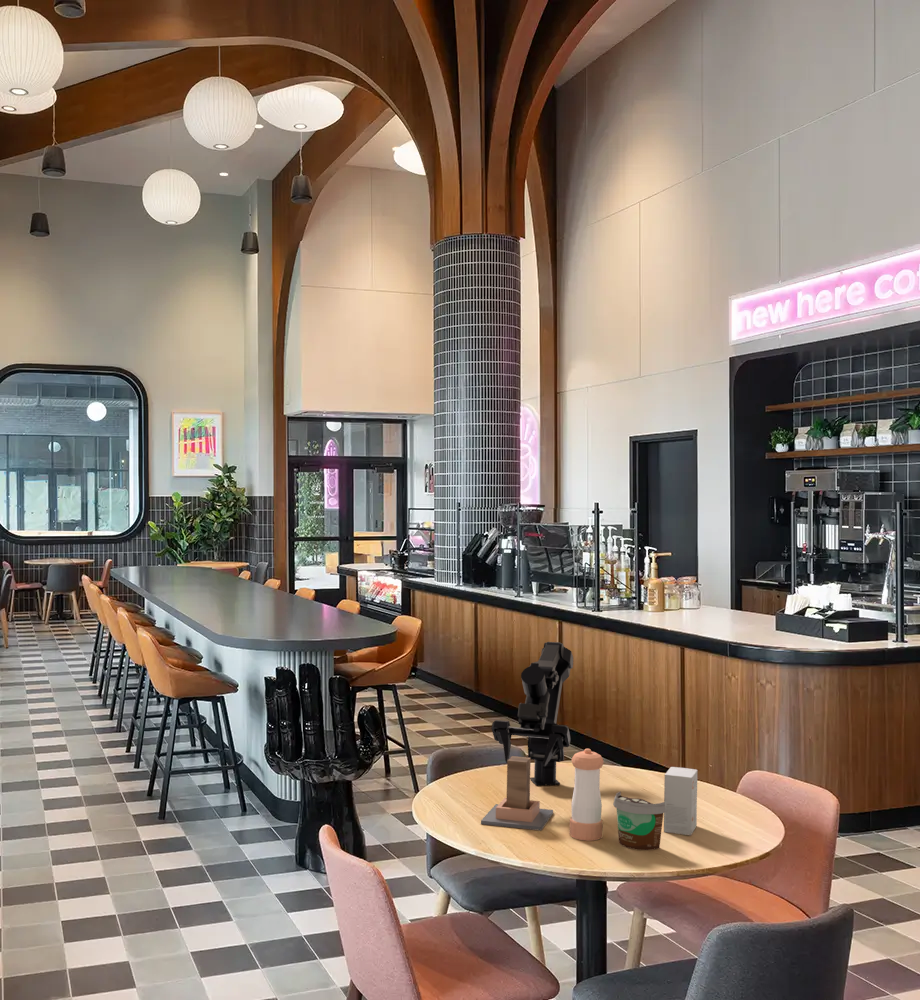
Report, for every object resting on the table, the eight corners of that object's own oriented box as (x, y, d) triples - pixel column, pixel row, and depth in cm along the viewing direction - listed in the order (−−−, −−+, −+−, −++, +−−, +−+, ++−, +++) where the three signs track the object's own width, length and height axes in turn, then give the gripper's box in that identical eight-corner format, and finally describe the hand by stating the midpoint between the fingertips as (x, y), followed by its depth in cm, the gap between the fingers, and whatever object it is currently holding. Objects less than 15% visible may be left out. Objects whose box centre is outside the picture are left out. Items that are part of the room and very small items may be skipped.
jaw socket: (495, 807, 252) (496, 793, 252) (553, 813, 248) (553, 799, 248) (480, 824, 239) (481, 809, 239) (541, 830, 235) (541, 815, 235)
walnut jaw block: (510, 811, 246) (511, 756, 246) (529, 813, 245) (530, 757, 245) (506, 816, 242) (507, 760, 242) (525, 818, 241) (526, 762, 241)
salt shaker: (596, 829, 236) (598, 744, 236) (606, 840, 229) (608, 752, 229) (565, 830, 235) (567, 745, 235) (574, 841, 228) (576, 753, 228)
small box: (669, 822, 243) (670, 766, 243) (697, 825, 241) (698, 769, 241) (662, 832, 236) (663, 774, 236) (691, 836, 234) (692, 777, 234)
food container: (601, 842, 228) (602, 796, 228) (617, 836, 232) (618, 790, 232) (649, 856, 219) (650, 808, 219) (665, 849, 224) (666, 802, 224)
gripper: (494, 687, 258) (481, 741, 247) (569, 692, 253) (560, 748, 242) (501, 713, 265) (489, 767, 255) (574, 718, 260) (565, 774, 250)
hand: (525, 763), depth 250 cm, fingers open, 9 cm apart
